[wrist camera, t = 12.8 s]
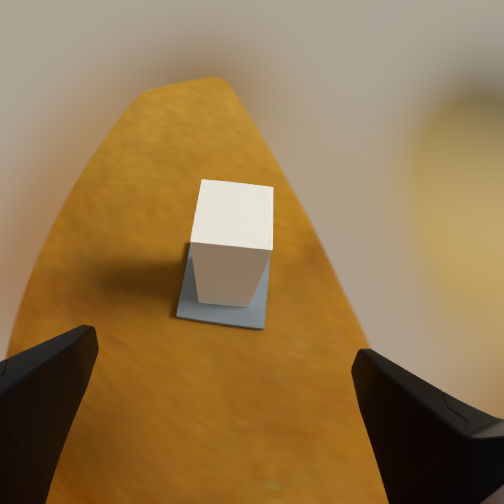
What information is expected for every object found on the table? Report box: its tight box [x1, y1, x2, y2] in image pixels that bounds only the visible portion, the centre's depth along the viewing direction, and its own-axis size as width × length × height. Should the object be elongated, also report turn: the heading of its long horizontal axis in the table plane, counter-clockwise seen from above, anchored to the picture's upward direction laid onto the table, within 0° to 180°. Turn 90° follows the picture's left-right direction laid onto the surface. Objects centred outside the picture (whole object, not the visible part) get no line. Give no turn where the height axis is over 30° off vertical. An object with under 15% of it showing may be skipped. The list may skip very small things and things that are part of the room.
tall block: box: [190, 179, 273, 308], centre depth 19 cm, size 4×4×10 cm
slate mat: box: [176, 245, 270, 330], centre depth 24 cm, size 7×7×1 cm
